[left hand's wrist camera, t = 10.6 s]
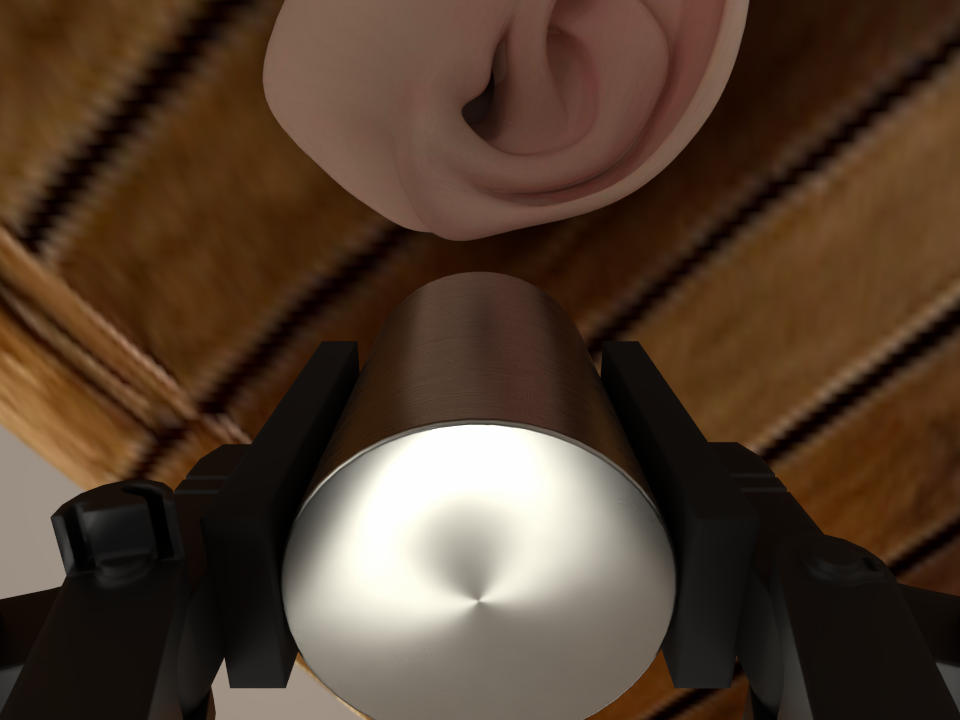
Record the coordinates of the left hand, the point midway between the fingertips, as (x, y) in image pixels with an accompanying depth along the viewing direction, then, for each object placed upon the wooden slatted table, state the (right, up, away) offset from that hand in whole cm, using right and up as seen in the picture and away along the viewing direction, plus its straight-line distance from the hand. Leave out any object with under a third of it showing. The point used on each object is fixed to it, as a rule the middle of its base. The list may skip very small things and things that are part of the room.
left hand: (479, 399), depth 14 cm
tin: (0, 0, +1) cm, 1 cm away
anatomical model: (0, +10, +7) cm, 12 cm away
